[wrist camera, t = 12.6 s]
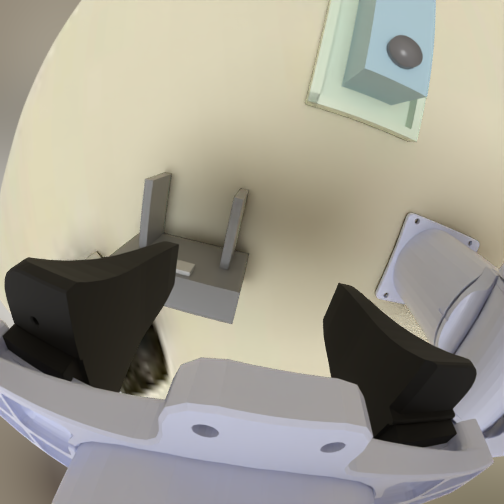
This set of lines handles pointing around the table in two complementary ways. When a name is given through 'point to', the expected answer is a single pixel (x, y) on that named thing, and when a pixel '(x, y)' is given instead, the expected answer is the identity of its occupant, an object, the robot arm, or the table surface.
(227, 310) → the bay
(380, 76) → the tall blue-grey prism
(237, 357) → the table surface
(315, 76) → the tray
